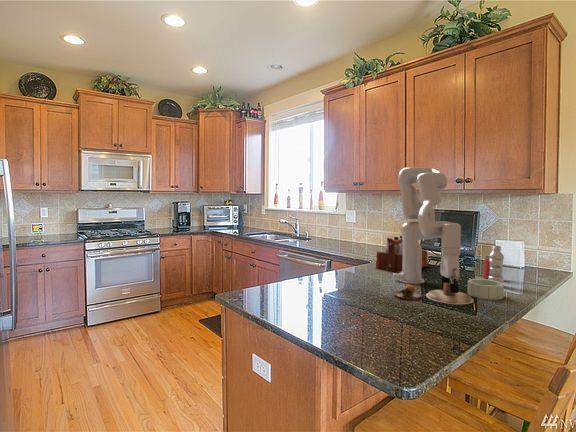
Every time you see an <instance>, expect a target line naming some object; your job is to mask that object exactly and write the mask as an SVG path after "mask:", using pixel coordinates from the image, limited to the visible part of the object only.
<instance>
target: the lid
mask: <svg viewBox="0 0 576 432" xmlns="http://www.w3.org/2000/svg"><path fill="white" fill-rule="evenodd" d="M450 283H451V282H449V283H444V287H443V289H432V290H429V291H428V296H429V297H430V298H432V299H434V300H437V301H441V302H440V303H442V302H446V303H445V304H448V303H457V304H456V305H462V304H461V303H468V302H470V301H471V298H472V296H471V295H469V294H468V293H465V292H461V291H458V293H450ZM434 300H433V301H434ZM437 301H436V302H437Z"/></svg>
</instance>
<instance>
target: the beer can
mask: <svg viewBox="0 0 576 432" xmlns="http://www.w3.org/2000/svg"><path fill="white" fill-rule="evenodd" d="M489 271H490V263H489V255H487V256H486V255H485V258H484V261H483V279H487V280H488V277H489Z"/></svg>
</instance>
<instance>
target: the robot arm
mask: <svg viewBox="0 0 576 432" xmlns="http://www.w3.org/2000/svg"><path fill="white" fill-rule="evenodd" d="M397 176H398V177H397V183H398V187H399V190H400V195H401V205H402V206H401V208H402V215H403V218H404V219H407V220H417V221H406V222H404V223H403V224H402V225H401V227H400V233H401V236H402V241H403V259H402V271H401V272H396V273H395V272H393V273H392V277H394V278H398V280H399V282H401V283H404V284H408V285H412V284H413V285H414V284H415V285H420V284H424V283H425V279H424V278H422V268H421V265H422V250H423V249H422V246H421V243H420V242H419V241H422V240H424V241H425V240H432V239H436V238H439V239H441V241H440V242H441V245H440V246H441V248H440V250H441V251H440V254H441V257H440V265H439V267H440V268H439V273H440V275H441V287H442V288H444V283H450V293H458V292H459V285H460V278H461V275H460V256H461V242H462V241H461V239H462V238H461V237H462V233H461V232H462V225H461V224H459V223H456V222H451V221H447V220H446V221H445V220H443V221H442V220H441V221H440V220H439V221H437V220H436V215H435V207H436V206H438V205H440V203H441V202H442V197H441V194H440V190H441V191H442V190H445V189H446V187H447V185H448V178H447V176H446V174H445V173H443V172H442V171H439V170H437V169H435V168H433V167H425V166H423V167H421V166H420V167H419V166H408V167H403V168H402V169H400V171H399V173H398V175H397ZM413 184H416V186H417V188H416V187H415V185H413ZM419 195H420V199H421V200H419Z"/></svg>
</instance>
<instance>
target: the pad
mask: <svg viewBox="0 0 576 432" xmlns="http://www.w3.org/2000/svg"><path fill="white" fill-rule="evenodd" d="M428 293H429V292H428ZM428 293H426V294H425V296H426V298H428V299H429V300H431V301H435V302H439V303H442V304H443V303H444V304H448V305H458V304H457V303H446V302H441V301H437V300H434V299H432V298H430V297H429V296H428ZM474 302H475V301H474V298H472V297H471V301H470V302H468V303H461V304H460V305H469V304H472V303H474Z"/></svg>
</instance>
